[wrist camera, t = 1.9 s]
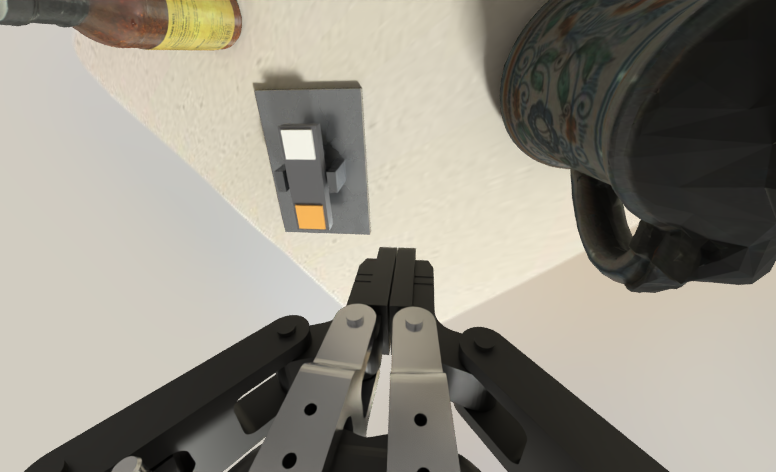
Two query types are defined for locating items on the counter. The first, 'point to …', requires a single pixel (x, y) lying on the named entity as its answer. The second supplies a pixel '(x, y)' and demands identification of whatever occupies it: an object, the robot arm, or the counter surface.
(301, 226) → the lever
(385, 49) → the counter surface
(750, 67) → the beer stein
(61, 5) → the sauce bottle
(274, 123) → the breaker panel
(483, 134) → the counter surface
